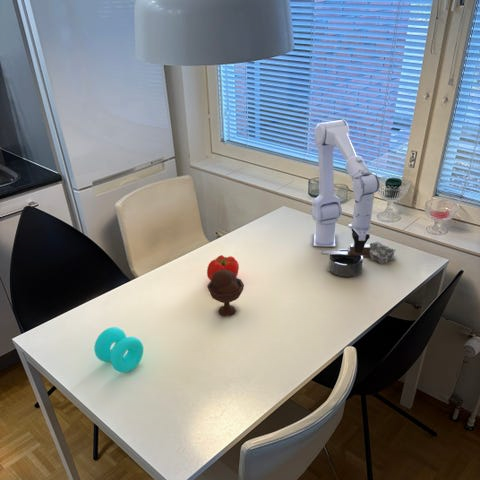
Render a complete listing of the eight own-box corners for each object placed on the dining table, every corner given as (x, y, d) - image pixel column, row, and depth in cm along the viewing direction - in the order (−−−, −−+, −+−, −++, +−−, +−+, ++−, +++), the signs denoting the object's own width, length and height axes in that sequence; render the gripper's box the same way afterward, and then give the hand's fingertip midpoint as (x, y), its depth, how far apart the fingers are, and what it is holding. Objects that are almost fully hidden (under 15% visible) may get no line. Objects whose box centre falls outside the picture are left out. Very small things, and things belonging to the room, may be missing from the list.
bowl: (328, 260, 176) (329, 248, 173) (360, 262, 175) (361, 249, 172) (328, 277, 167) (329, 264, 164) (362, 278, 166) (363, 265, 163)
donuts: (124, 347, 141) (118, 319, 135) (148, 361, 136) (142, 332, 130) (96, 365, 135) (88, 337, 129) (119, 381, 130) (112, 352, 124)
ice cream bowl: (244, 320, 149) (243, 278, 140) (208, 321, 150) (204, 279, 141) (245, 301, 158) (243, 260, 149) (210, 301, 158) (206, 261, 149)
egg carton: (359, 254, 179) (360, 244, 177) (373, 248, 183) (374, 238, 180) (382, 265, 172) (383, 255, 170) (396, 258, 176) (398, 248, 173)
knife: (368, 252, 167) (369, 244, 165) (369, 256, 165) (370, 247, 163) (320, 251, 169) (321, 242, 168) (320, 254, 167) (321, 246, 166)
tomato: (240, 273, 172) (239, 251, 166) (237, 290, 163) (236, 268, 158) (210, 273, 173) (208, 251, 168) (205, 290, 164) (203, 267, 159)
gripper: (349, 203, 164) (345, 239, 172) (350, 222, 153) (347, 260, 161) (370, 203, 163) (366, 240, 171) (374, 222, 152) (369, 261, 160)
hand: (358, 250), depth 166 cm, fingers closed on knife, 2 cm apart
